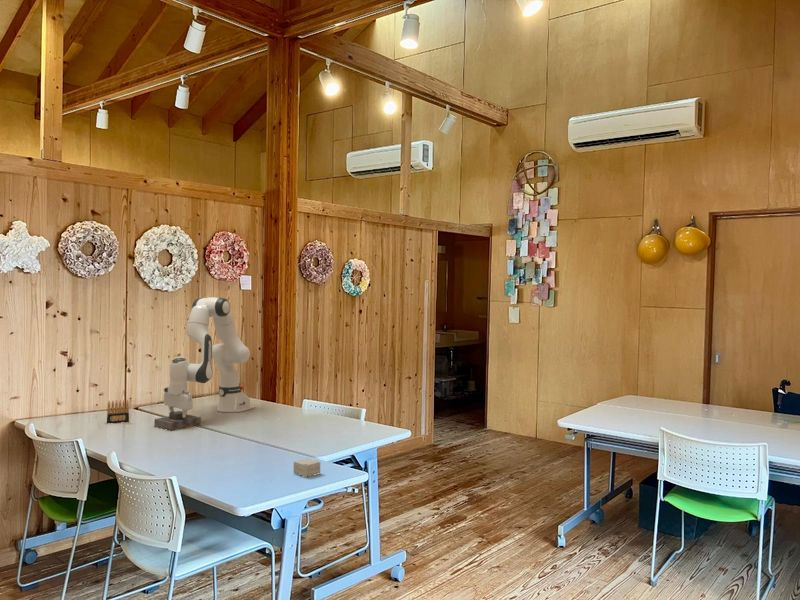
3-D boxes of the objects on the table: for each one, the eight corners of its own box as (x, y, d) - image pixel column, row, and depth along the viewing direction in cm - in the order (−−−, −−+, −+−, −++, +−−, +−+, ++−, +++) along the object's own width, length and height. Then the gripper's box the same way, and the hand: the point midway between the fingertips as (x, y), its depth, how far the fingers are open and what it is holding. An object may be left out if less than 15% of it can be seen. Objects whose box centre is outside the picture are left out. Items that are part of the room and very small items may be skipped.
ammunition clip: (128, 421, 335) (129, 399, 335) (129, 422, 334) (129, 399, 333) (106, 423, 330) (106, 400, 329) (107, 424, 328) (107, 401, 328)
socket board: (184, 421, 339) (184, 412, 339) (200, 425, 331) (200, 416, 331) (154, 426, 325) (154, 417, 325) (170, 431, 317) (170, 421, 316)
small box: (307, 470, 258) (308, 457, 258) (320, 474, 252) (321, 461, 252) (292, 474, 252) (293, 461, 252) (305, 478, 247) (305, 465, 247)
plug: (179, 421, 332) (180, 410, 332) (186, 423, 329) (186, 412, 329) (169, 423, 327) (169, 412, 327) (175, 425, 324) (175, 414, 324)
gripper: (196, 391, 324) (195, 418, 324) (172, 386, 336) (171, 412, 336) (185, 392, 319) (185, 420, 319) (161, 388, 331) (161, 414, 331)
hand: (178, 416), depth 328 cm, fingers open, 8 cm apart
